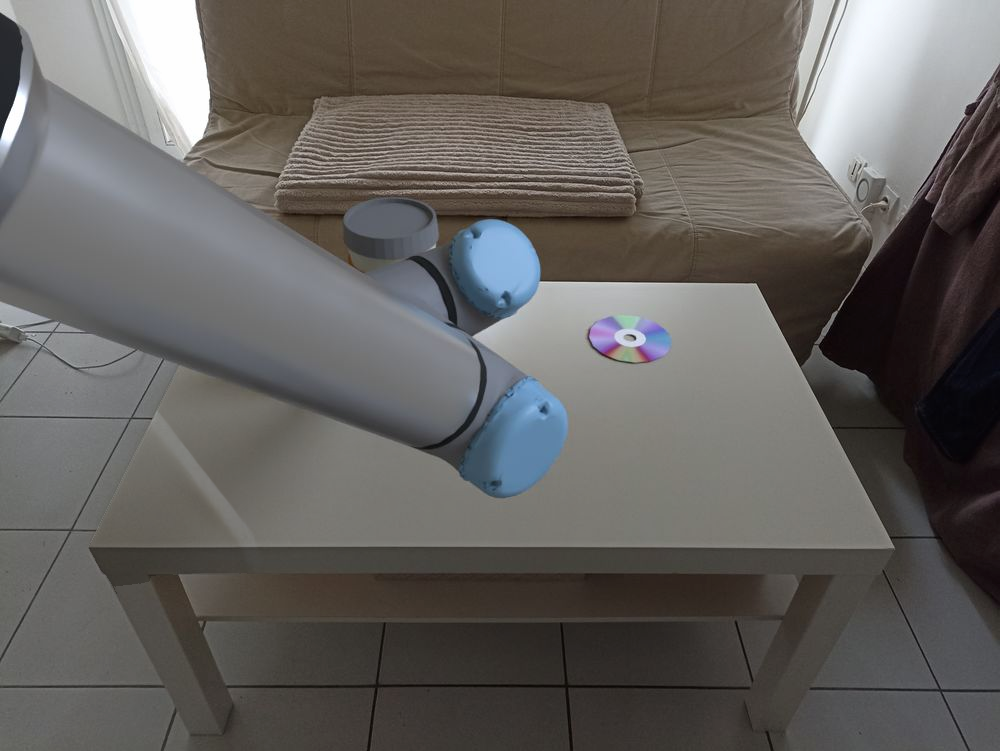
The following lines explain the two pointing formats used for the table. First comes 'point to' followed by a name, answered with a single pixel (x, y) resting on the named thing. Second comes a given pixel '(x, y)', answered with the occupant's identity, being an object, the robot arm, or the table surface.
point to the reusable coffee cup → (388, 231)
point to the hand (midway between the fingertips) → (348, 374)
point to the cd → (643, 349)
